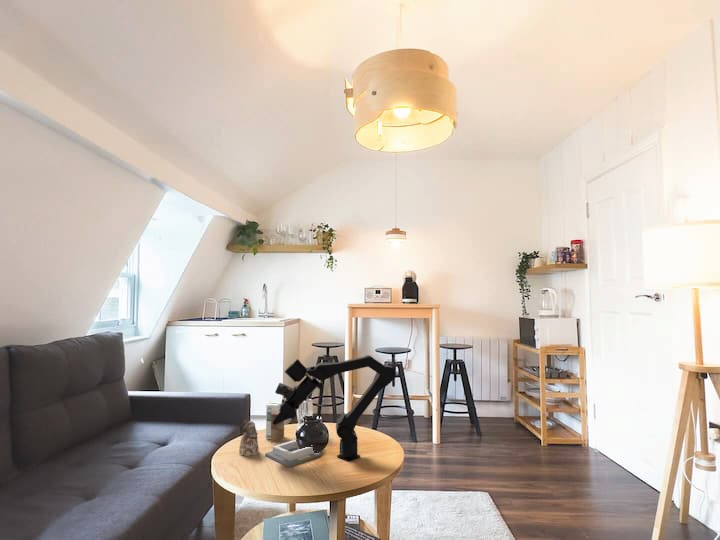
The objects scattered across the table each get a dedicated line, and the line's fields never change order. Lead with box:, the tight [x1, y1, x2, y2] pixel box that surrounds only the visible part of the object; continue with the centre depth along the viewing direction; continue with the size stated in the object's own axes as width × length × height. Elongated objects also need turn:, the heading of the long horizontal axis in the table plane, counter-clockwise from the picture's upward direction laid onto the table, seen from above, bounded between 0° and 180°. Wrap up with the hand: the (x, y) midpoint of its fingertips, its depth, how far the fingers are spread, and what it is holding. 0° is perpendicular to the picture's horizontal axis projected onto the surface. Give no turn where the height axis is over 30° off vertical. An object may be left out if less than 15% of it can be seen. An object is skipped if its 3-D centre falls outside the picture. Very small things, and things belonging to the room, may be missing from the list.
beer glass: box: [296, 398, 314, 426], centre depth 179 cm, size 7×7×15 cm
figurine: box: [238, 420, 259, 457], centre depth 158 cm, size 7×7×12 cm
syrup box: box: [265, 401, 282, 440], centre depth 176 cm, size 6×6×14 cm
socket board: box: [264, 439, 322, 468], centre depth 154 cm, size 15×15×4 cm
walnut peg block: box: [270, 411, 285, 443], centre depth 151 cm, size 4×4×10 cm
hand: (273, 422), depth 151 cm, fingers closed on walnut peg block, 4 cm apart
